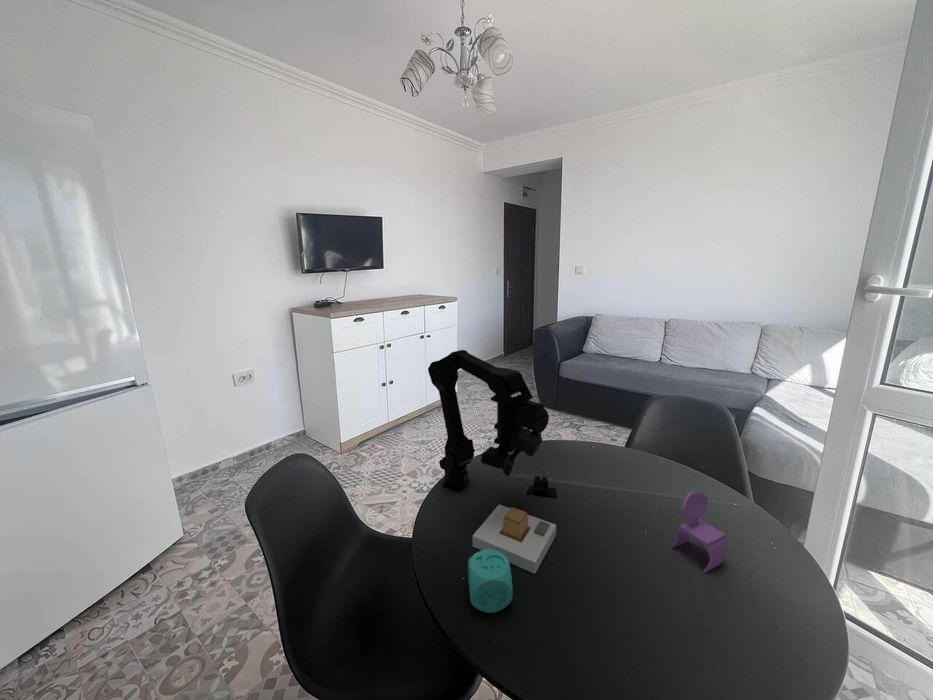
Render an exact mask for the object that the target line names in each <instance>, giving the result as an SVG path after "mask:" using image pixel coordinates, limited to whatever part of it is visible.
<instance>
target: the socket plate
mask: <svg viewBox="0 0 933 700" xmlns="http://www.w3.org/2000/svg"><path fill="white" fill-rule="evenodd" d="M510 509H511V507H508V506H505V505H501V504H498V505H497V506H496V508H494V510H493V511H492V512H491V513H490V514H489V516H488V517H487V518H486V519H485V521H484V522H483V523H482V524H481V525H480V527H478V529H477V530H476V531H475V532H474V533H473V535H472V548H476V549H477V550H479V551H481V550H486V549H492V550H496V551H499V552H501V553H502V554H504V555H505V556H506V557H507V558H508V561H509V564H511V565H514V566H516V567H518V568H520V569H523V570H525V571H527V572H529V573H532V574H534V575H536V573H537V572H538V570H539V567H540V566H541V563H542V562H543V560H544V558H545V557H546V554H547V553H548V551H549V549H550V547H551V546H552V543H553V542H554V539H555V538H556V537H557V526H558V525H557V524H555V523H552V522H550V521H546V520H544V519H541V518H538V517H536V516H533V515H530V514H527V515H528V534H527V535H526V537H525V538H524V540H523V541H522V543H521V542H519V541H517V540H514V539H512V538H509V537H507V536H504V535H503V519H504V518H505V515H506V514H507V512H508V511H509V510H510Z"/></svg>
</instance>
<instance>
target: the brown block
mask: <svg viewBox="0 0 933 700" xmlns="http://www.w3.org/2000/svg"><path fill="white" fill-rule="evenodd" d="M510 508H511V509H510V510H509V511H508V512H507V514H506V515H505V518H504V519H503V535H504V536H507V537H509V538H512V539H514V540H517V541H519V542H521V543H522V541H523V540H524V538H525V537H526V535H527V534H528V515H529V514H527V512H526V511H524V510H521V509H518V508H515V507H513V506H511V507H510Z"/></svg>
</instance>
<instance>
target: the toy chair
mask: <svg viewBox="0 0 933 700" xmlns="http://www.w3.org/2000/svg"><path fill="white" fill-rule="evenodd" d="M708 501H709V499H708V496H707V494H705V493H704V492H700V491H691V492H689V493H687V495H686V496H685V499H684V502H683V504H682V509H681V511H682V514H683V515H685V517H686V521H685V523H682V524H680V525H679V528H678V529H677V531H676V538H675V540H674V542H673V543H672V545H670V549H672V550H673V549H674V548H677V547H679V546H681V545H683V544H684V543H687V542H689V541H690V537H691V538H693V539H694V540H696V541H697V542H698V543H699V544H701V545H702V546H703V547H705V550H706V551H707V553H708V556H709V561H708V564H707V566H706V567H705V568H704V570H703V571H702V573H703V574H705V573H708V572H709V571H711V570H712V569H715V568H717V567H718V566H720V565H721V564H723V560H724V555H725V552H726V548H727V539H726V533H724V532H723V531H720V530H718V529H717V528H715V527H713V526H712V525H711V524H709V523H707V522H706V521H704V520H703V519H702V518H700V517H701V516H703V515H704V514H705V513H706V512H707V509H708V508H707V507H708Z"/></svg>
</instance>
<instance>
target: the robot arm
mask: <svg viewBox="0 0 933 700" xmlns="http://www.w3.org/2000/svg"><path fill="white" fill-rule="evenodd" d="M460 369H461V370H462V371H465V373H468V374H469V375H472V376H474V377H475V378H477V379H479V380H481V381H482V382H484V383H485V384H486V385H487V386H488V389H489V390H490V391H491V392H492V393H494V395H493V396H492V397H490V401H491V402H495V403H496V404H497V406H496V416H497V417H496V418H497V419H496V423H494V424H493V429H494V430H496V434H497V435H496V437H495V438H494V439H493V444H495V445H498V446H497V447H495V446H490V447H488V448H487V449H486V450H485V451H483V452H482V453H481V454H480V462H481V464H482V465H483V464H484V465H485V466H486V465H487V466H491V467H493V468H496V469H500V470H502V471H503V473H504V475H505V476H507V477H510V475H511V474H512V470H513V467H514V464H515V460H516V458H517V456H518V455H519V454H520V453H522V452H523V453H525V454H526V455H527V456H529V457H534V455H535V454H536V453H537V452H538V450H539V448H540V447H541V444H542V443H543V437H542V432H544V431H545V429H547V426H548V425H549V420H550V415H549V412H548V410H547V409H545V404H544V403H542V402H536V401H532V399H533V398H534V397H533V395H532V392H531V390H530V389H529V387H528V385H527V382H526V381H525V380H524V378H523V374H522V373H521V372H520V371H518V370H515V369H511V368H508V367H498V366H495V365H493V364H491V363H489V362H487V361H485V360H483V359H481V358H479V357H477V356H475V355H473V354H471V353H469V352H468V350H465V349H460V350H456V351H452V352H450V353H449V354H448V355H446V356H444V357H442V358H440V359H439V360H435V361H432V362H431V363H430V365H429V366H428V375H429V377H430V380H431V384H432V386H434V387H435V388H436V389H437V390H438V394H439V398H440V403H441V408H442V414H443V419H444V424H445V431H446V435H447V439H446V442H445V445H444V454H445V455H444V457H443V458H441V459H440V460H439V461H438V463H439V468H440V469H441V470H443V471H444V481H443V482H442V483H441V486H442V487H445V488H447V489H450V490H453V491H456V492H460V491H462V489H464V488H465V487H466V486H467V485H468V484H469V483H470V482H471V480H470V479H469V471H468V467H467V465H468V464H469V465H470V464H471V463H472V460H473V459H474V457H475V453H476V450H475V448H474V442H473V439H472V438H470V439H469V438H468V436H467V435H466V434H465V431H464V427H463V421H462V416H461V412H460V404H459V401H458V397H457V396H458V395H457V391H456V390H457V389H456V385H457V382H458V380H459V370H460ZM518 393H520V394H518ZM515 394H518V395H516V396H513V395H515Z"/></svg>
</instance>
